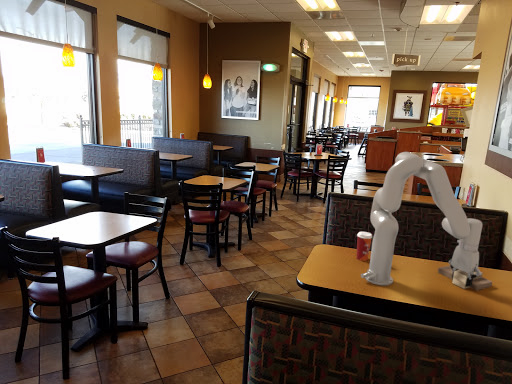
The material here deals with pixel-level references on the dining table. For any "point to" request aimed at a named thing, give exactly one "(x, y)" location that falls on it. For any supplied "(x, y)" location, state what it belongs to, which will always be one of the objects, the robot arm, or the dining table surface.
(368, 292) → the dining table surface
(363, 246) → the paper cup
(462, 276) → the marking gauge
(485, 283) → the walnut board
